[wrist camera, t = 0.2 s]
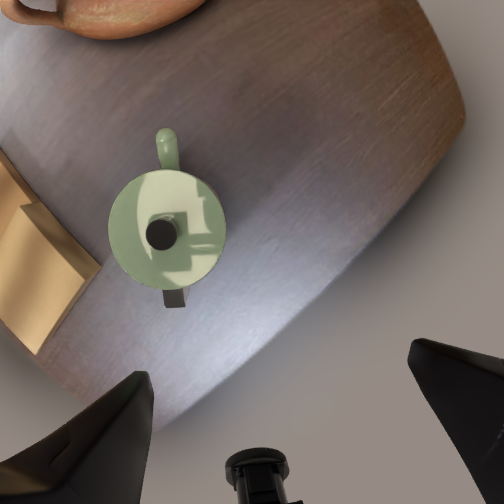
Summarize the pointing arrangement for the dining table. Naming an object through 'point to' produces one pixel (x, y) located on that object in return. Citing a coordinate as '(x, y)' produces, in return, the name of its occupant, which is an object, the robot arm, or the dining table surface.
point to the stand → (36, 263)
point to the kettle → (167, 226)
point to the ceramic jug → (103, 16)
